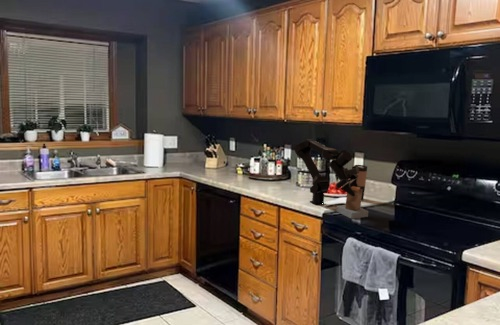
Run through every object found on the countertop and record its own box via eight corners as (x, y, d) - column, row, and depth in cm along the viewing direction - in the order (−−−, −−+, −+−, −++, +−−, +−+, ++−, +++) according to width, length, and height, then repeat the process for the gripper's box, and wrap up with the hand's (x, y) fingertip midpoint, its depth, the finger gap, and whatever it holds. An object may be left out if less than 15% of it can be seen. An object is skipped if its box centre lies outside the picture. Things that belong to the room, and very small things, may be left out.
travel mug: (354, 196, 269) (358, 164, 265) (365, 199, 264) (369, 166, 260) (348, 198, 264) (351, 165, 260) (359, 201, 259) (363, 168, 255)
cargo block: (349, 192, 230) (350, 187, 230) (352, 191, 234) (352, 186, 233) (357, 194, 228) (357, 188, 228) (359, 193, 231) (360, 187, 231)
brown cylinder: (345, 208, 232) (347, 189, 229) (349, 206, 237) (351, 187, 235) (356, 211, 228) (358, 191, 226) (360, 208, 233) (362, 189, 231)
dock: (336, 211, 236) (337, 206, 235) (352, 209, 241) (353, 204, 240) (351, 218, 225) (351, 212, 225) (367, 216, 230) (368, 211, 230)
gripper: (344, 163, 222) (363, 189, 218) (356, 159, 237) (374, 182, 234) (328, 176, 227) (346, 201, 224) (341, 170, 243) (358, 194, 240)
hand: (357, 194), depth 230 cm, fingers open, 8 cm apart
